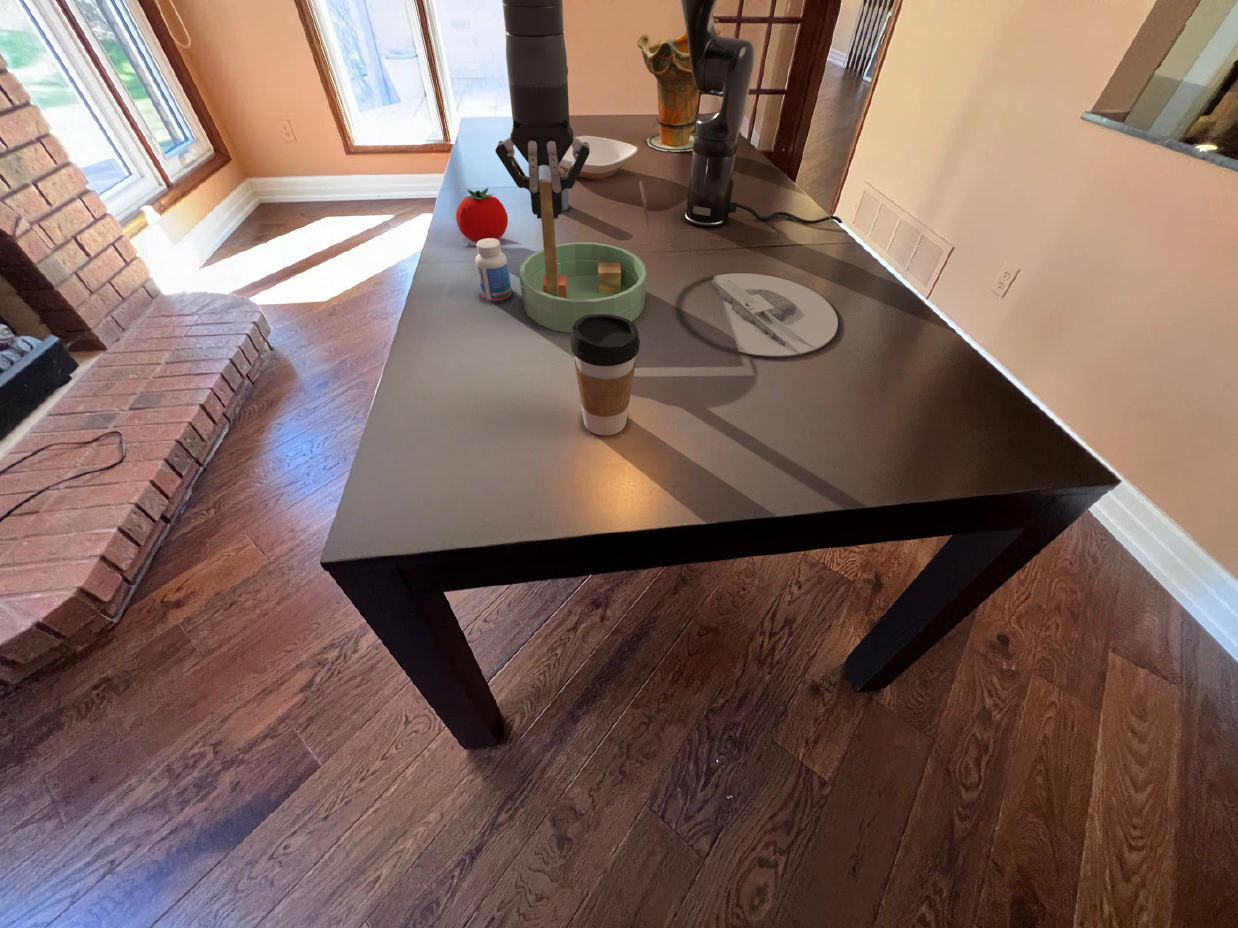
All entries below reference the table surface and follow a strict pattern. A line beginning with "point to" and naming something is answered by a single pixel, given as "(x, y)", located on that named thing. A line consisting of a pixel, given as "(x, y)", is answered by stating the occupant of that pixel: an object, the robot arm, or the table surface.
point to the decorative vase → (672, 91)
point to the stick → (549, 236)
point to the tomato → (481, 216)
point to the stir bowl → (582, 285)
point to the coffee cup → (604, 369)
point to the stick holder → (564, 199)
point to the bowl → (600, 157)
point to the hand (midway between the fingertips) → (548, 216)
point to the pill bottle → (492, 270)
